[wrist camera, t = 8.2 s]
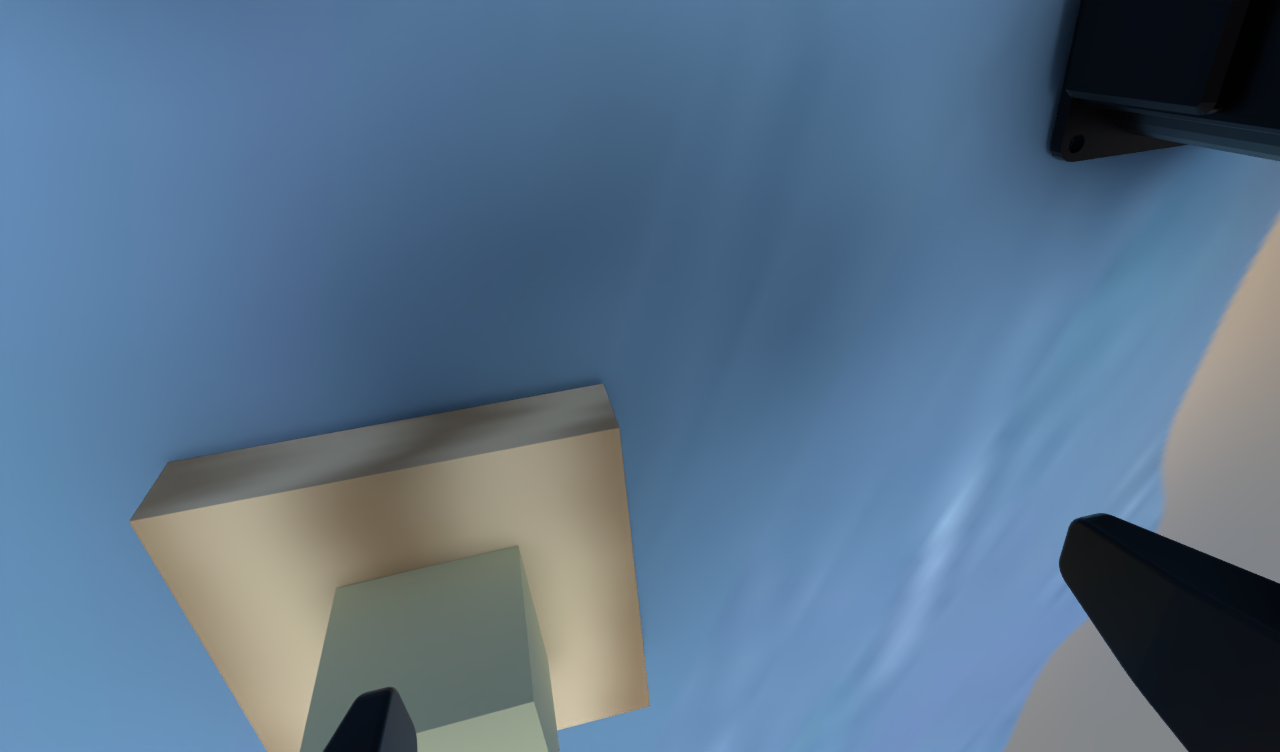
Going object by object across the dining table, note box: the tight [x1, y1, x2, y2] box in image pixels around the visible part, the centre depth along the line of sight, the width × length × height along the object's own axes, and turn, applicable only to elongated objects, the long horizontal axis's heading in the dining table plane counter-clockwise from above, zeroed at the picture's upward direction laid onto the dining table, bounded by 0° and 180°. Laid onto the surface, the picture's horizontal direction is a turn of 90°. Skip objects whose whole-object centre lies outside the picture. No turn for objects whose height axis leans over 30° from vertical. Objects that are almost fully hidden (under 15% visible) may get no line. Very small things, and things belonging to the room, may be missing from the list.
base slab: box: [129, 384, 650, 752], centre depth 21 cm, size 12×12×3 cm
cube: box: [300, 546, 560, 752], centre depth 18 cm, size 5×5×5 cm
